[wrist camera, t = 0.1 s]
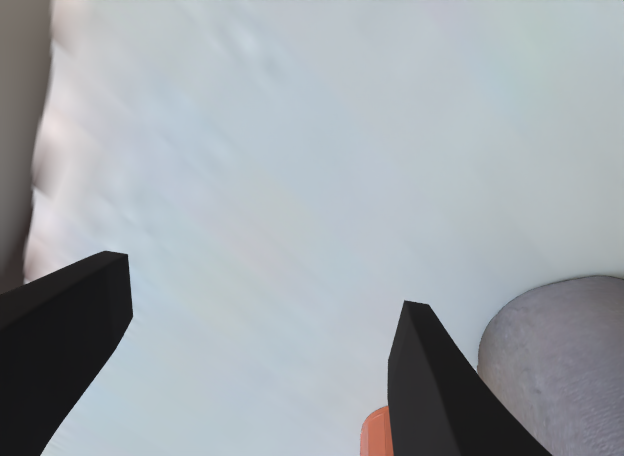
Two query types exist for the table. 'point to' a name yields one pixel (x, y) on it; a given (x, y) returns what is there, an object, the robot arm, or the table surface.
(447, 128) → the table surface
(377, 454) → the terracotta pipe segment
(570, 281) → the pillar candle
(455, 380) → the robot arm
